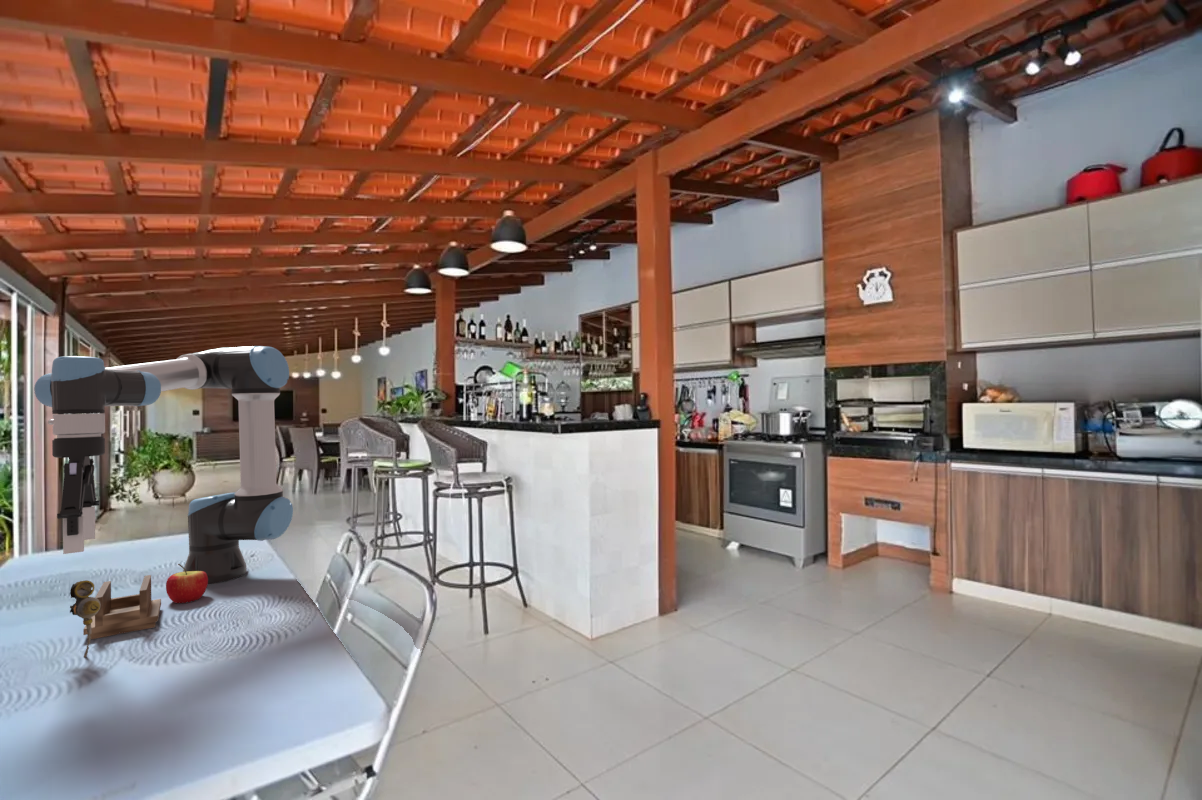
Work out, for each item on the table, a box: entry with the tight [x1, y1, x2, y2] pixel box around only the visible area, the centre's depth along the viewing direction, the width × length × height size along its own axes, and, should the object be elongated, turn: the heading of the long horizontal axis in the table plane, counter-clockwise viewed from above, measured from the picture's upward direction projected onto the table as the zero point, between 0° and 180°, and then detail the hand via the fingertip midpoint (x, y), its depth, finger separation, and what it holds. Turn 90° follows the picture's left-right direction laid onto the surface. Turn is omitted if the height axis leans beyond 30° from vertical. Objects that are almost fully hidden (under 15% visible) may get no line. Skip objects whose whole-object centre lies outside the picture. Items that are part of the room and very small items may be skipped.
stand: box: [82, 574, 162, 641], centre depth 125 cm, size 12×14×9 cm
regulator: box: [69, 580, 101, 658], centre depth 109 cm, size 8×4×15 cm, turn 71°
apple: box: [165, 563, 209, 604], centre depth 141 cm, size 8×8×10 cm
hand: (80, 545), depth 109 cm, fingers open, 13 cm apart
